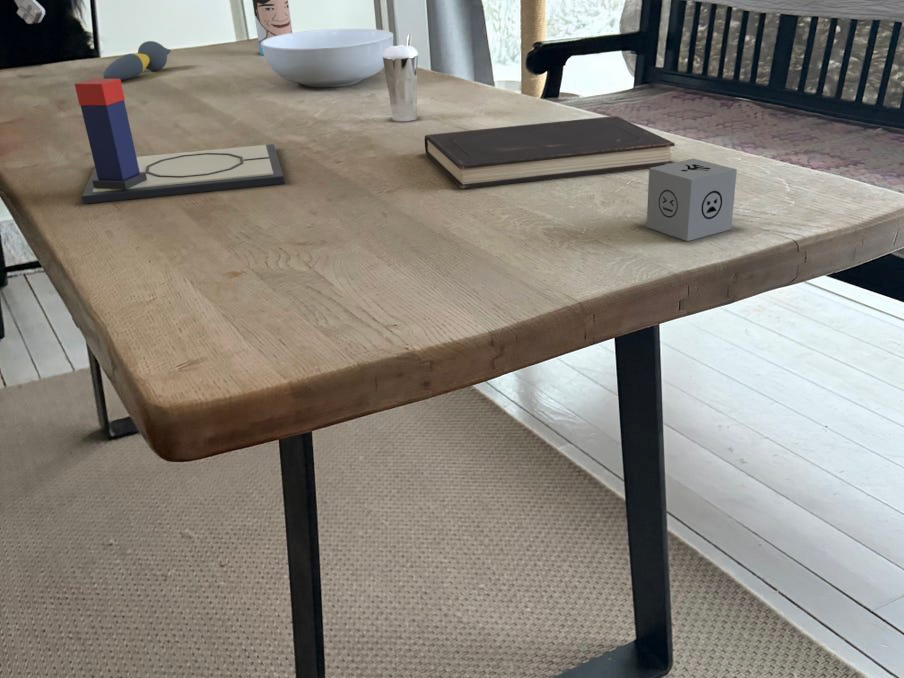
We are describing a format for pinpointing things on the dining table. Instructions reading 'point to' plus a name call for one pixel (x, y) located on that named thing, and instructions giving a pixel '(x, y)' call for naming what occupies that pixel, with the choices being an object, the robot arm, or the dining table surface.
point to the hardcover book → (545, 151)
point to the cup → (271, 19)
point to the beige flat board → (196, 173)
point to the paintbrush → (138, 62)
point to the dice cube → (690, 198)
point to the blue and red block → (109, 134)
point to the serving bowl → (327, 55)
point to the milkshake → (402, 80)
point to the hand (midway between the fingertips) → (7, 24)
